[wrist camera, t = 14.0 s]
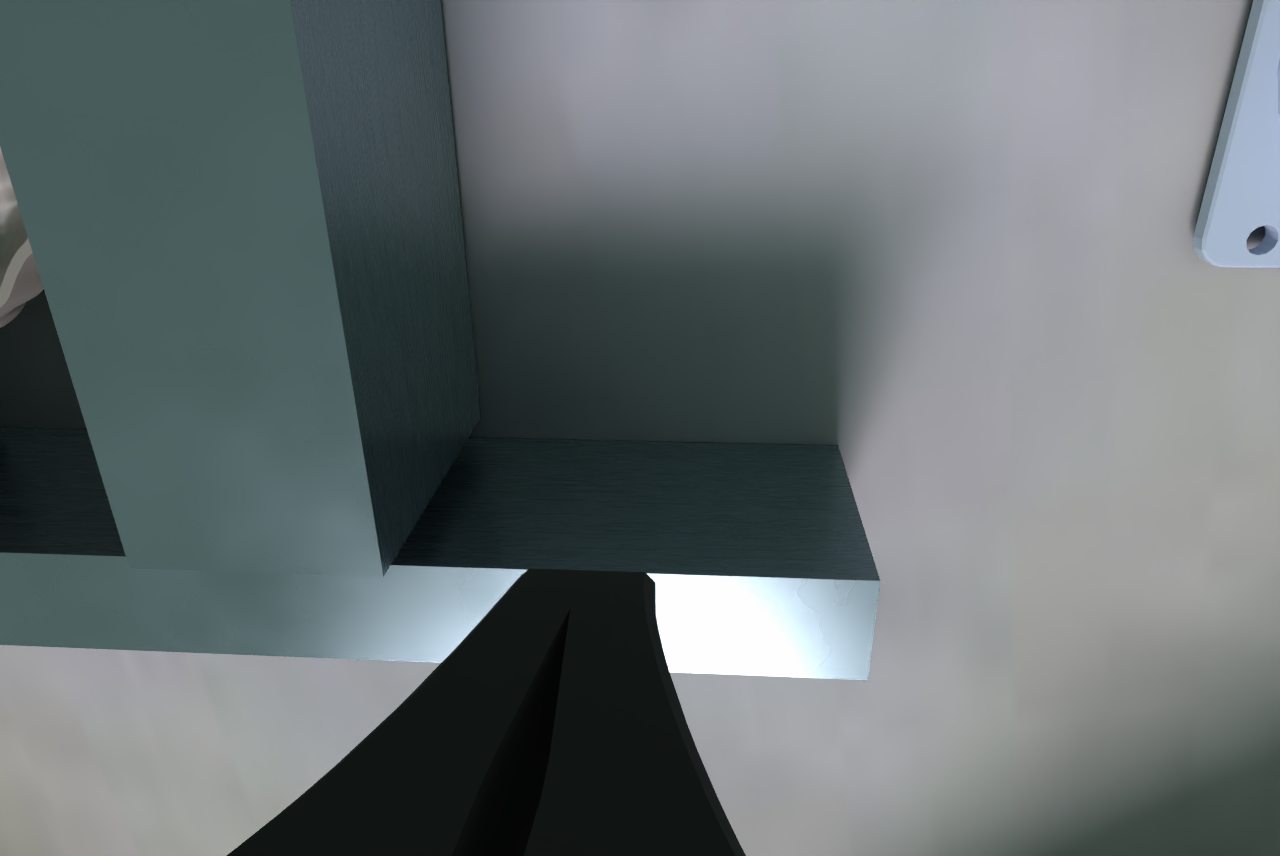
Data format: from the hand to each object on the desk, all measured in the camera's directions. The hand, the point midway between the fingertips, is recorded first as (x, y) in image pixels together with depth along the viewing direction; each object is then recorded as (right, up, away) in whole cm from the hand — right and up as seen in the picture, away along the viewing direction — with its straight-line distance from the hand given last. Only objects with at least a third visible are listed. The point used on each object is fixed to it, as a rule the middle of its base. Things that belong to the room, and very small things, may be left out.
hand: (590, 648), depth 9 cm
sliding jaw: (-5, +14, +4) cm, 15 cm away
